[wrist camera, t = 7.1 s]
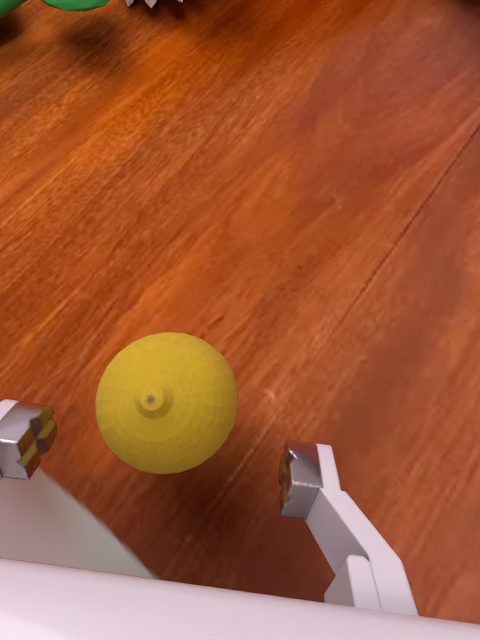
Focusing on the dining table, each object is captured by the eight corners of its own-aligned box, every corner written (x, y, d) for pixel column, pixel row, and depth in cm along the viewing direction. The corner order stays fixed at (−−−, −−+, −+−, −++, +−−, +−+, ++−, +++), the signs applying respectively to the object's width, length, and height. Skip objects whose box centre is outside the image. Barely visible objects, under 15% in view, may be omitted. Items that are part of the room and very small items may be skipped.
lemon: (138, 346, 18) (73, 304, 10) (237, 352, 18) (248, 315, 10) (124, 453, 17) (37, 497, 9) (232, 458, 17) (239, 506, 9)
